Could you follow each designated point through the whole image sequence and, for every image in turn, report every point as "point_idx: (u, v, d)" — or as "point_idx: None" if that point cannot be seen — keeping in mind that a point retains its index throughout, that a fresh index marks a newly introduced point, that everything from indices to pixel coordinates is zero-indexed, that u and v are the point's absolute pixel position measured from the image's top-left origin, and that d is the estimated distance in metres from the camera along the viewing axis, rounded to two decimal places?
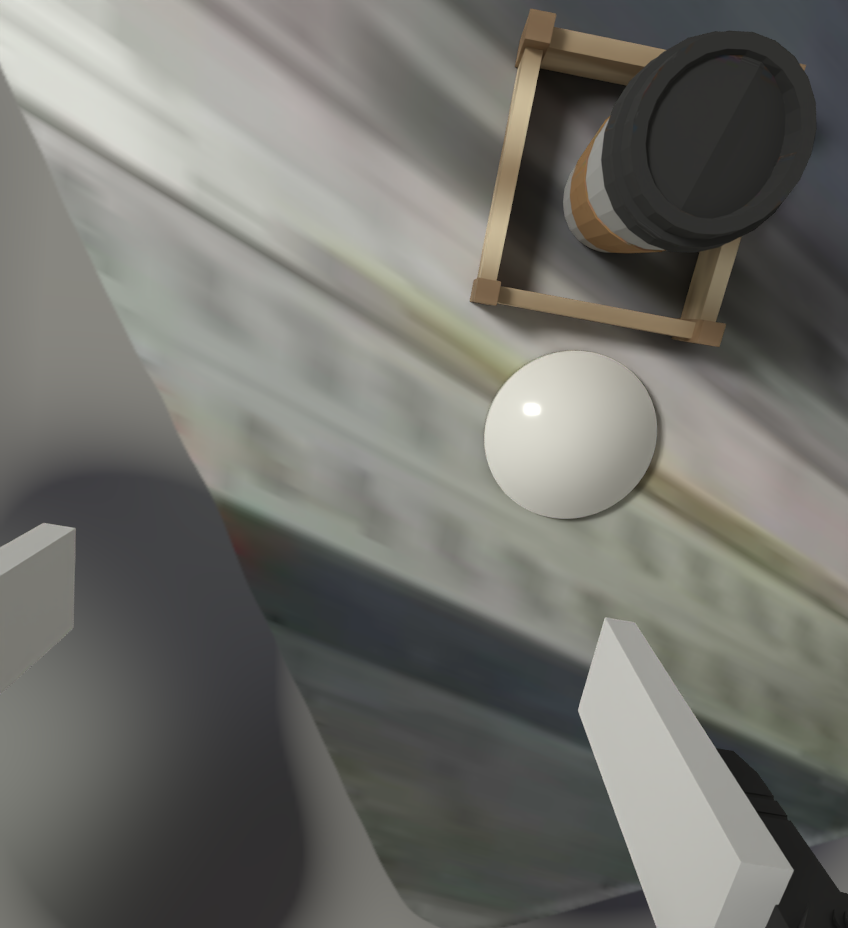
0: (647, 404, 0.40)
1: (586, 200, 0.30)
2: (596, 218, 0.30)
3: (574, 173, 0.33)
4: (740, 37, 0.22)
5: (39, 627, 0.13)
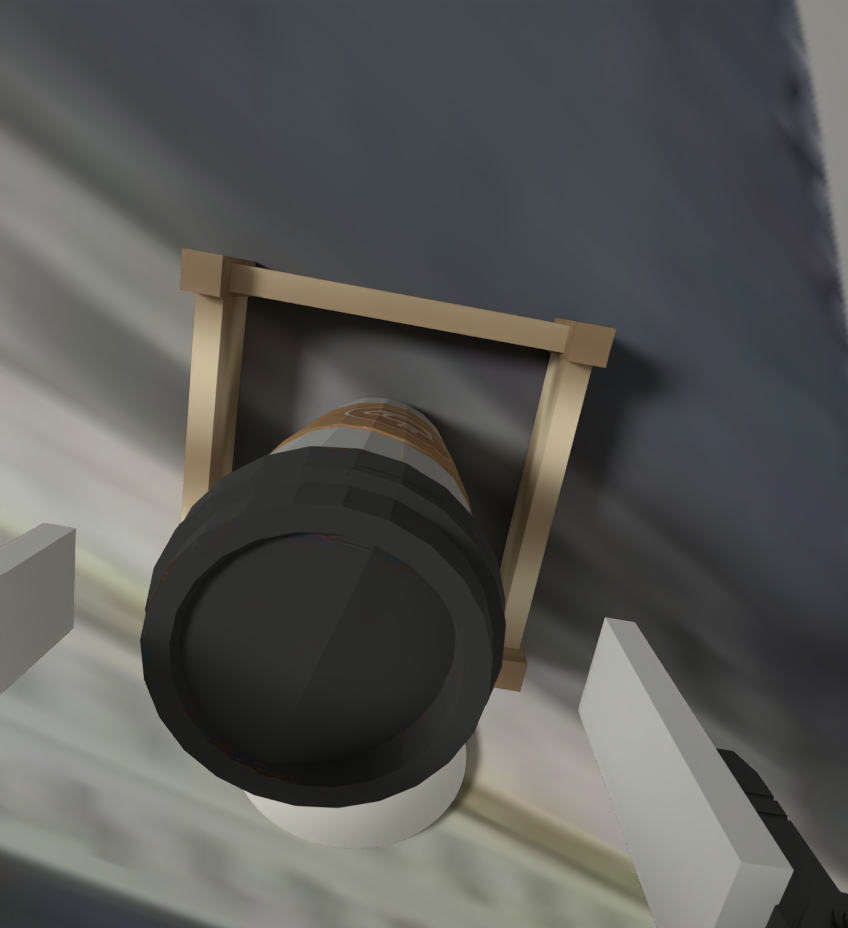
0: None
1: None
2: None
3: None
4: (318, 514, 0.11)
5: (39, 627, 0.13)
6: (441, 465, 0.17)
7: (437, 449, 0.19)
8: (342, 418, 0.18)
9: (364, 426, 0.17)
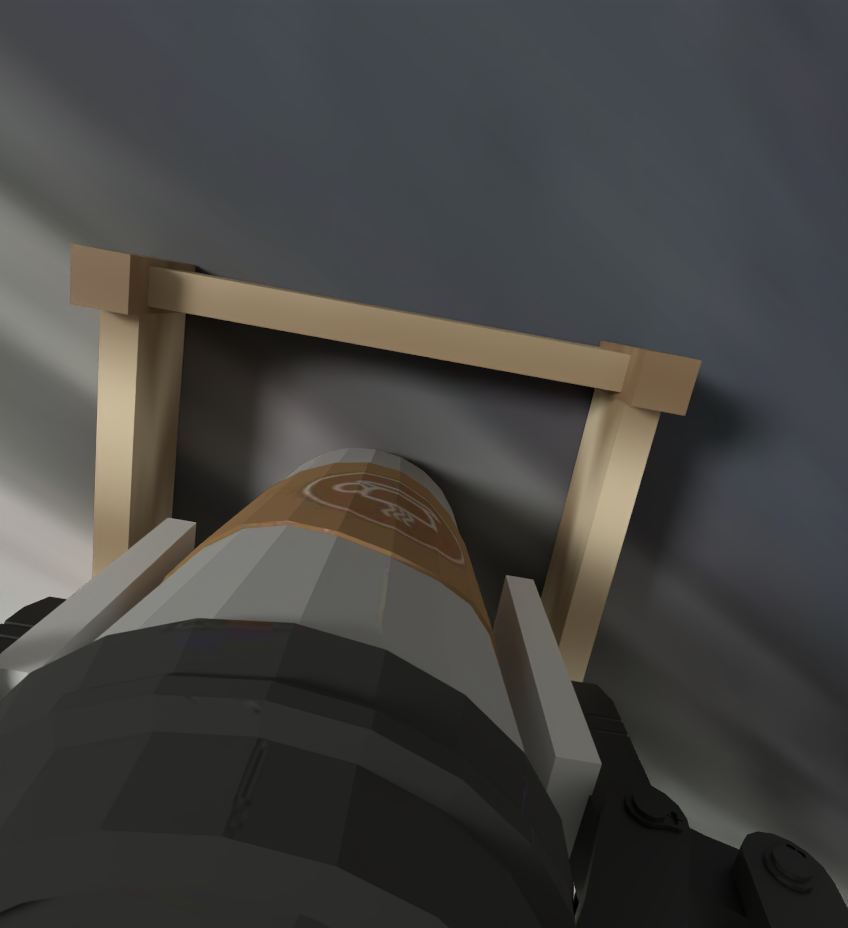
0: None
1: None
2: None
3: None
4: (164, 854, 0.05)
5: None
6: (451, 588, 0.11)
7: (443, 548, 0.12)
8: (296, 504, 0.12)
9: (326, 527, 0.10)
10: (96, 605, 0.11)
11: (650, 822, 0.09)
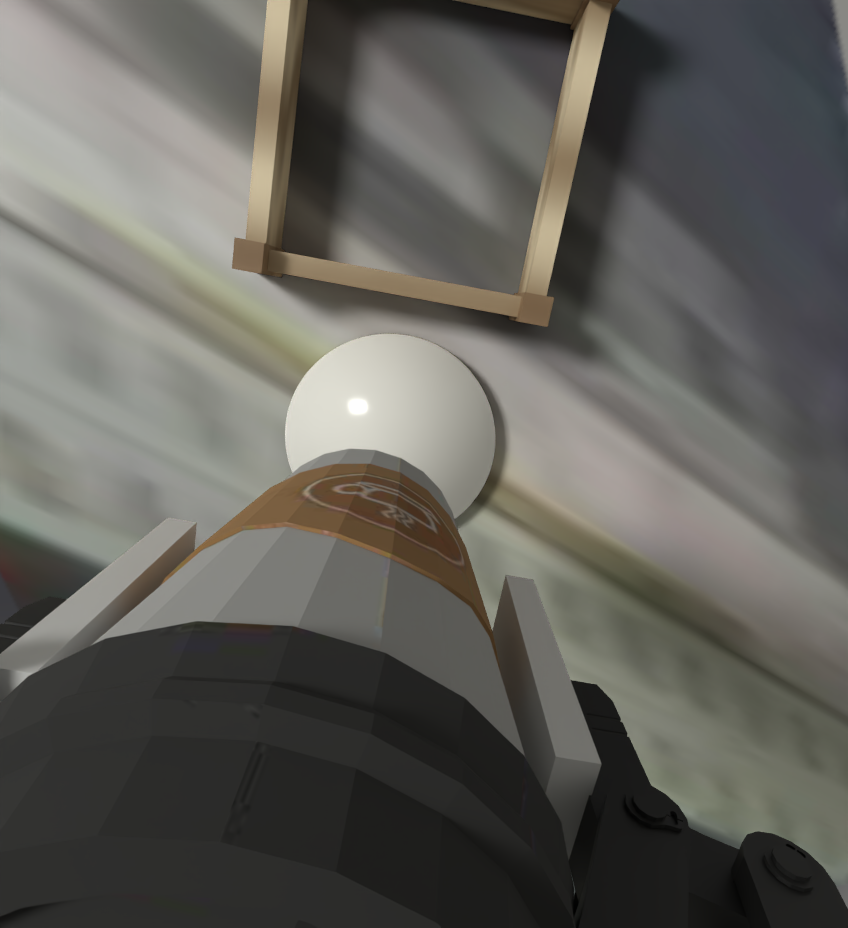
0: (481, 400, 0.33)
1: None
2: None
3: None
4: (163, 859, 0.05)
5: None
6: (450, 590, 0.11)
7: (443, 549, 0.12)
8: (296, 505, 0.12)
9: (325, 529, 0.10)
10: (96, 605, 0.11)
11: (650, 822, 0.09)
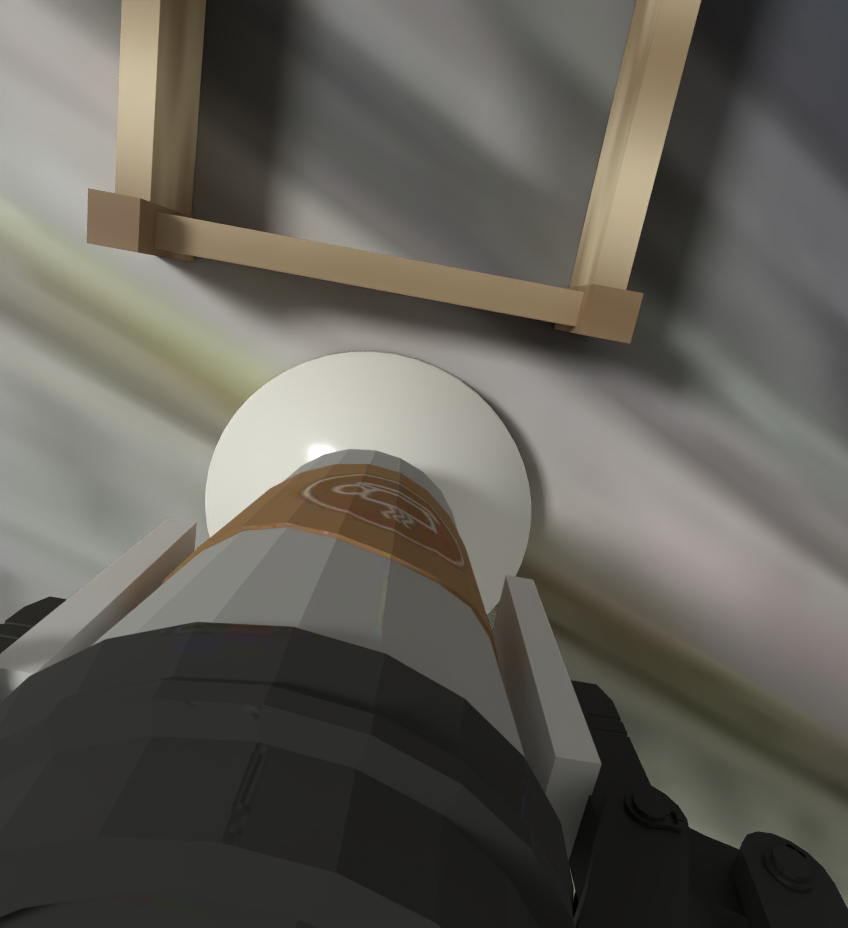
0: (509, 455, 0.21)
1: None
2: None
3: None
4: (163, 860, 0.05)
5: None
6: (450, 590, 0.11)
7: (443, 550, 0.12)
8: (296, 506, 0.12)
9: (325, 529, 0.10)
10: (96, 605, 0.11)
11: (650, 822, 0.09)
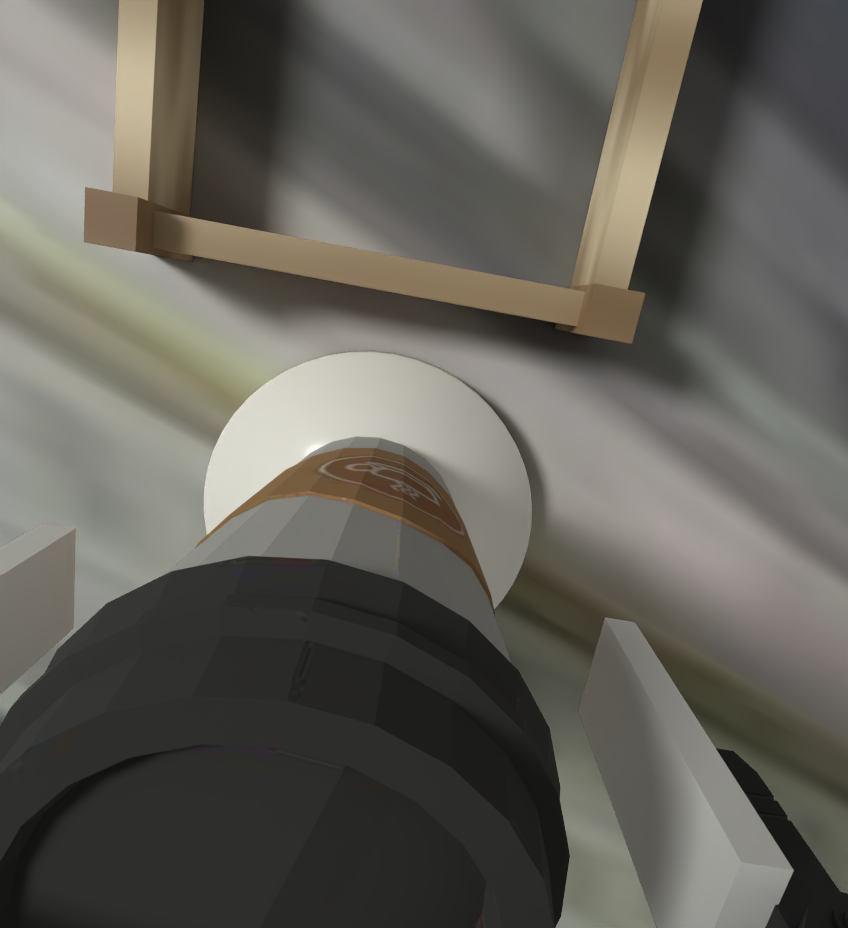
0: (510, 456, 0.21)
1: None
2: None
3: None
4: (241, 715, 0.06)
5: (39, 627, 0.13)
6: (453, 551, 0.12)
7: (446, 519, 0.14)
8: (314, 479, 0.13)
9: (343, 496, 0.12)
10: None
11: None
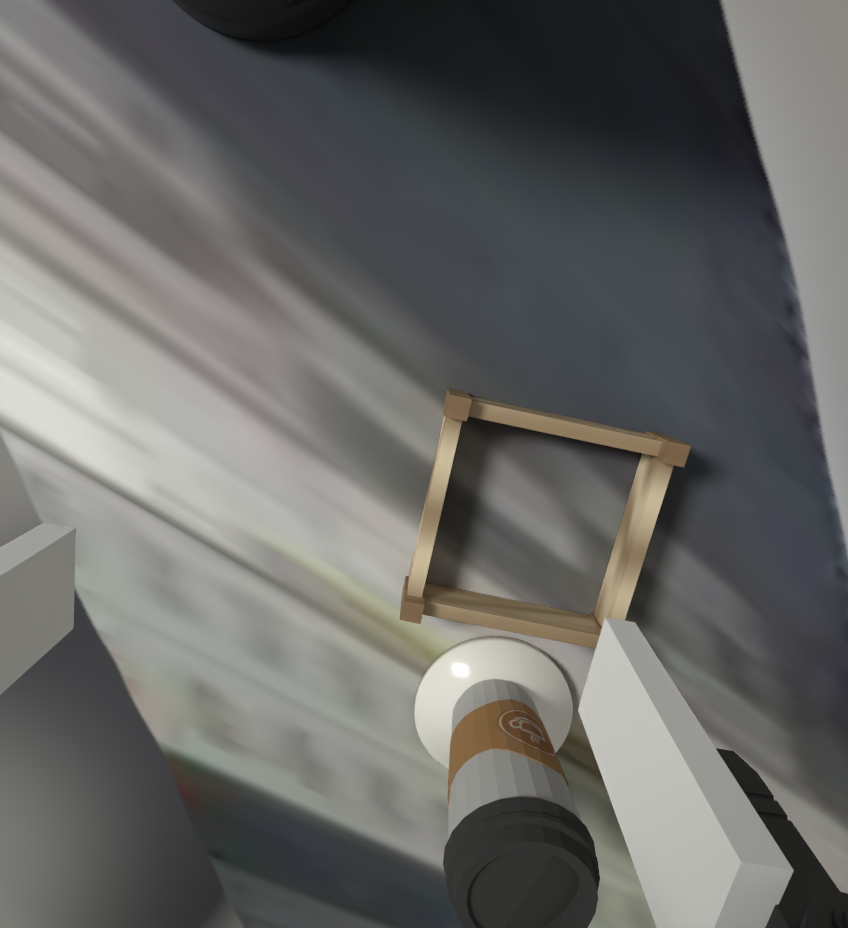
0: (563, 687, 0.44)
1: None
2: None
3: (451, 744, 0.40)
4: (535, 845, 0.29)
5: (39, 627, 0.13)
6: (557, 771, 0.35)
7: (549, 750, 0.37)
8: (504, 737, 0.36)
9: (521, 753, 0.35)
10: None
11: None
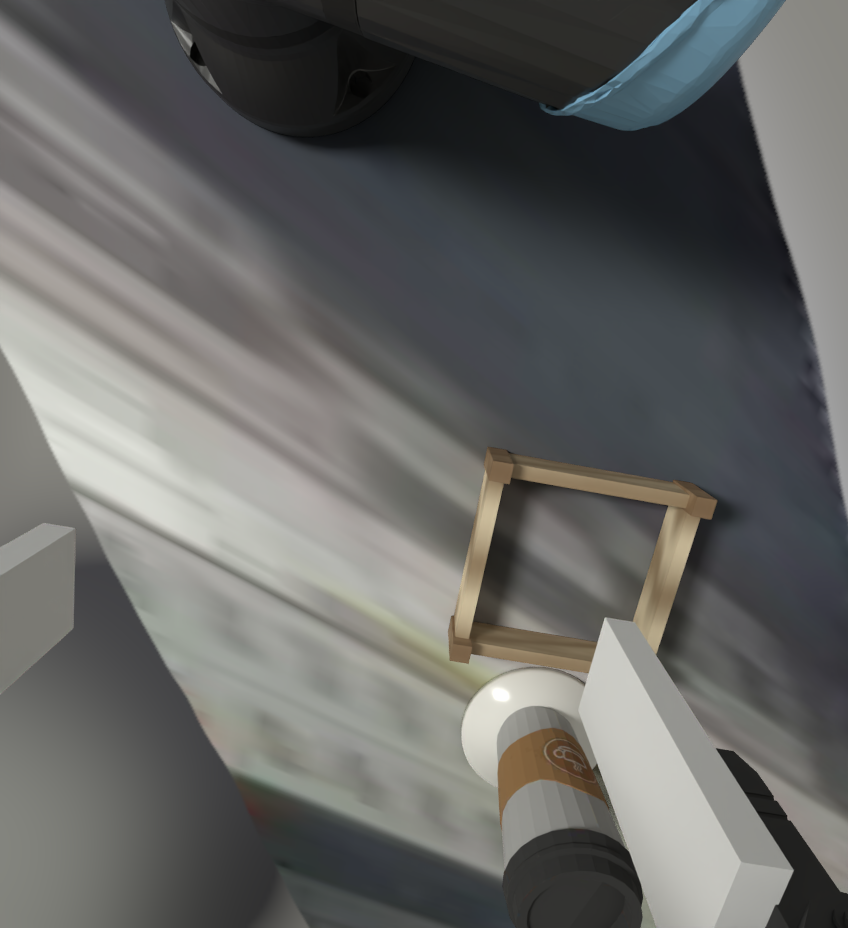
0: None
1: None
2: None
3: (499, 770, 0.44)
4: (587, 874, 0.33)
5: (39, 627, 0.13)
6: (600, 799, 0.39)
7: (591, 777, 0.41)
8: (550, 768, 0.40)
9: (567, 784, 0.39)
10: None
11: None
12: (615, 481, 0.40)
